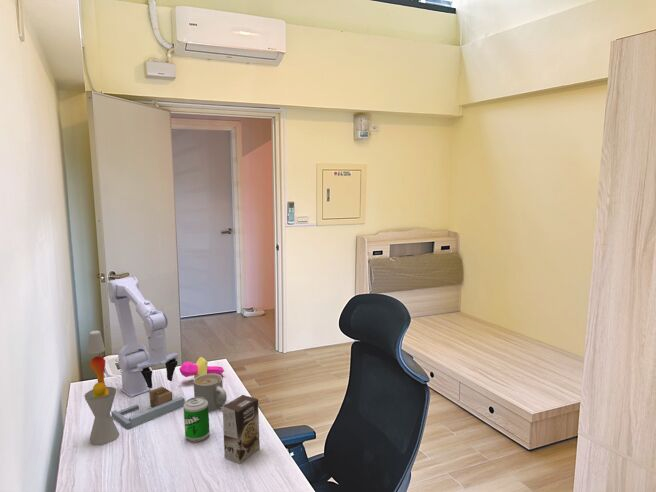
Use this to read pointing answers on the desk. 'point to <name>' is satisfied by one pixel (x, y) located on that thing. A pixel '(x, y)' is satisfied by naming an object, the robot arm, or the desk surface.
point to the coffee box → (241, 428)
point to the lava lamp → (100, 396)
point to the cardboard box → (159, 396)
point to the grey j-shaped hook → (146, 413)
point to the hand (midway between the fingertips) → (159, 383)
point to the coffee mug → (210, 390)
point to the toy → (199, 368)
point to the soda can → (196, 419)
